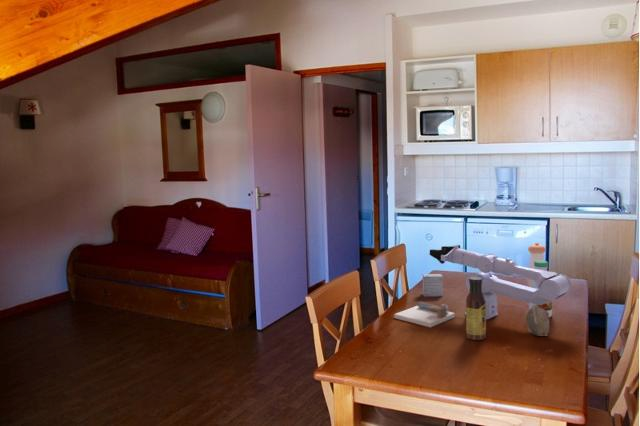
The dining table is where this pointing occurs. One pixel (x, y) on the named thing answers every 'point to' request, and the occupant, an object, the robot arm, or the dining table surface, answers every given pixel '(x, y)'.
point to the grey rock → (538, 321)
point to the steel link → (426, 305)
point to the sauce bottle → (475, 310)
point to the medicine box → (432, 285)
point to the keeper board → (425, 315)
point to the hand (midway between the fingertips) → (436, 250)
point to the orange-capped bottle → (535, 255)
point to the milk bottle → (547, 306)
